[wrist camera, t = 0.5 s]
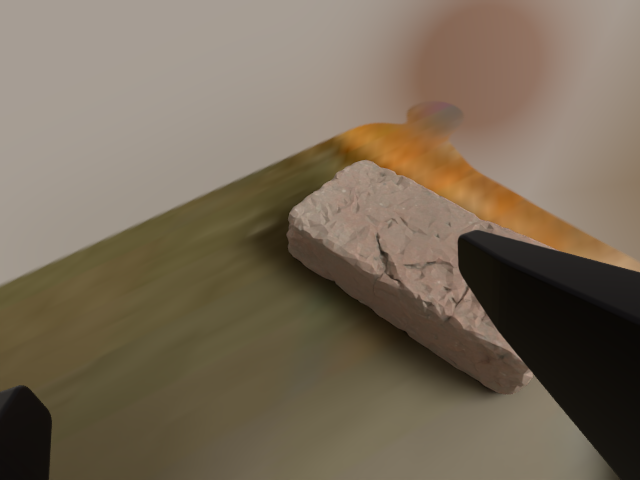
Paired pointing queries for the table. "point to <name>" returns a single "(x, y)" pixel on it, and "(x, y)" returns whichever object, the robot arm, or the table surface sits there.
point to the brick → (406, 265)
